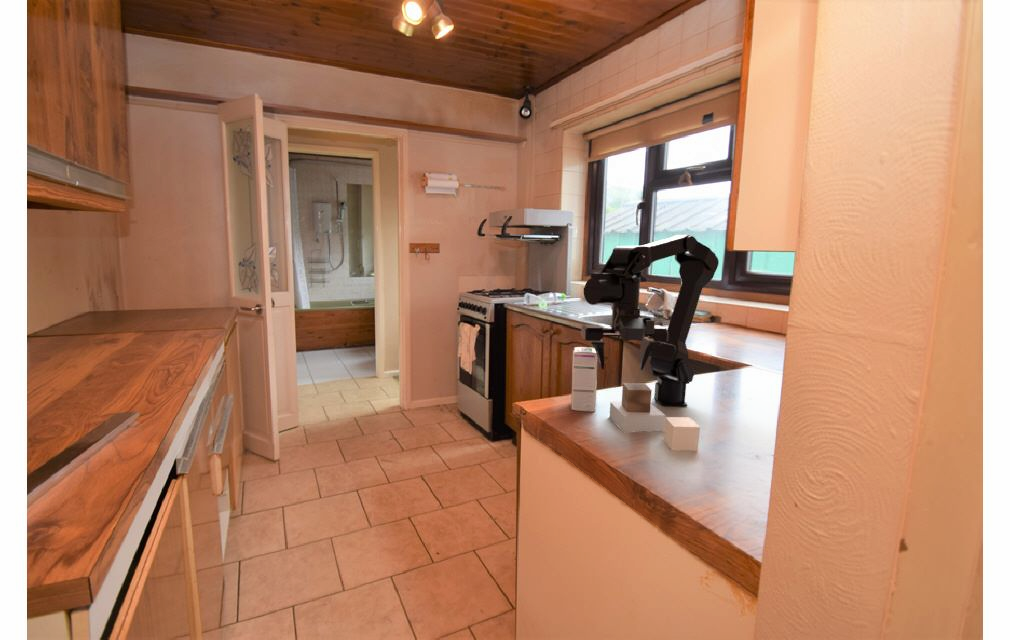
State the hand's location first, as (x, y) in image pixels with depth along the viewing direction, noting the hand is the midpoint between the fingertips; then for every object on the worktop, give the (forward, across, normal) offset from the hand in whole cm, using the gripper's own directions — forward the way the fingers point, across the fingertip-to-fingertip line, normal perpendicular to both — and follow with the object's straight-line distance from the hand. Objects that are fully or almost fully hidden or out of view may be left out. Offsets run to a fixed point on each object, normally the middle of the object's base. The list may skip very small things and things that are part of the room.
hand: (621, 369), depth 107 cm
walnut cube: (+7, +2, -6) cm, 9 cm away
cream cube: (+11, +8, -17) cm, 21 cm away
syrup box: (+11, -8, +5) cm, 14 cm away
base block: (+11, +2, -6) cm, 13 cm away
